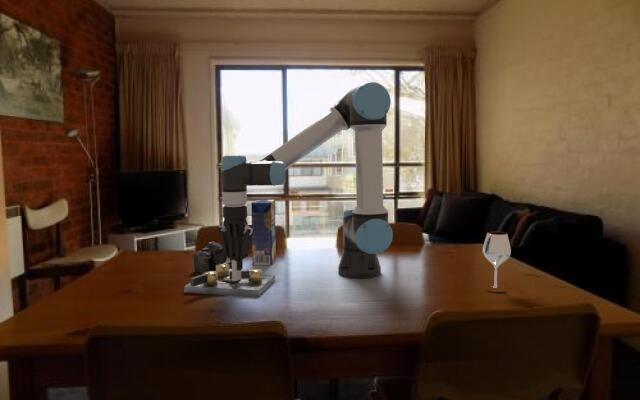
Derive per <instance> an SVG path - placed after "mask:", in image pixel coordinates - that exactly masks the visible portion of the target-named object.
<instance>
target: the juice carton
mask: <svg viewBox="0 0 640 400" xmlns="http://www.w3.org/2000/svg"><path fill="white" fill-rule="evenodd" d="M250 205H251V228H254V232H253V234H252V237H251V249H252V250H251V251H252V256H251V257H252V266H272V265H273V263H274V262H275V260H276V258H277V256H276V255H277V254H276V253H277V251H276V246H277V245H276V243H277V242H276V240H277V239H276V199H256V200H254V201H252V202H251V204H250Z"/></svg>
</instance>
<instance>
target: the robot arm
mask: <svg viewBox="0 0 640 400" xmlns="http://www.w3.org/2000/svg"><path fill="white" fill-rule="evenodd" d="M391 103H392V101H391V95H390V93H389V91H388V90H387V88H386V87H385V86H384V85H382V84H380V83H378V82H377V81H376V82H375V81H368V82H367V81H366V82H362V83H360V84H359V85H357V86H356V87H353V88H352V89H350V90H349V91H348V92H347V93H346V94H345V95H344V96H342V98H341V99H340V100H338V101H337V102H336V103H335V104H333V105H332V106H331V107H330V108H329V111H328V112H327V113H326V114H325V115H323V116H321V117H320V118H319V119H317V120H315V122H313V123H311V124H310V125H309V126H307V127H306V128H304V129H303V130H302V131H300V132H299V133H297V134H296V135H294V136H293V137H292V138H291V139H289V140H287V141H286V142H285V143H283V144H282V145H279V147H278V148H276V149H275V150H273V151H272V152H270V153H269V154H268V155H266V156H265V157H263V158H261V159H260V160H257V161H248V160H247V157H246V155H242V154H241V155H240V154H239V155H232V154H230V155H227V154H226V155H224V156H222V158H221V173H220V174H221V195H222V196H221V200H222V201H221V203H222V205H223V206H222V218H223V223H222V224H221V225H220V226H217V229H216V230H217V232H218V233H219V237H220V241H221V245H222V246H223V251H224V256H225V257H227V259H228V260H230V268H231V269H230V270H231V271H232V281H238V280H240V279H241V270H244V269H243V266H244V265H243V262H244V261H243V260H244V259H246V258H249V253H250V246H251V243H252V234H253V232H254V228H252V227H250V226H249V224H248V220H247V217H248V206H247V203H248V196H247V195H248V194H247V193H248V192H247V191H248V189H247V186H249V187H250V186H251V187H252V186H259V187H260V186H261V187H262V186H274V187H275V186H283V185H284V184H285V183H286V170H288V169H289V168H291V167H292V166H293V165H295V164H296V163H297V162H299V161H300V160H302V159H304V157H306V156H308V155H309V154H311V153H312V152H313V151H314V150H316V149H317V148H319V147H320V146H322V145H324V143H326V142H328V141H329V140H331V139H332V138H333V137H335V136H336V135H338V134H339V133H340V132H342V131H349V129H351V130H353V132H354V139H355V140H354V141H355V144H354V146H355V150H354V151H355V153H354V154H355V185H356V187H355V188H356V189H355V190H356V195H355V196H356V207H354V208H353V209H346V210H344V211H343V216H342V221H343V222H342V223H343V224H342V225H343V226H342V230H343V231H342V235H343V236H342V238H343V239H342V241H343V244H342V248H343V250H342V254H341V258H340V260H339V264H338V268H337V269H338V271H337V272H338V274H339V275H341V276H343V277H347V278H352V279H369V278H375V277H378V276H379V275H381V273H382V271H381V267H382V266H381V263H380V260H379V258H378V254H380V253H381V254H382V253H383V252H385V251H386V250H387V249H388V248H389V247H390V246H391V243H392V242H393V237H394V236H393V235H394V233H393V232H394V231H393V229H392V227H391V225H390V224H389V210H388V209H387V208H386V207H385V205H384V176H383V175H384V173H383V172H384V170H383V168H384V167H383V164H384V163H383V131H384V129H385V128H386V127H387V125H388V124H387V114H388V113H389V111H390V108H391V105H392V104H391Z"/></svg>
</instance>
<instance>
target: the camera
mask: <svg viewBox="0 0 640 400" xmlns="http://www.w3.org/2000/svg"><path fill="white" fill-rule="evenodd" d="M192 259H193V268H194V271H195V272H197V273H200V274H203V273H204V272H208V271H215V270H216V265H219V264H223V263H225V262H227V261H228V260H227V259H228V257H225V256H224V251H223V246H222V243H221V244H220V243H219V242H215V241H211V242H208V244H207V245H205V246H204V248H202V249H201V250H198V251H196V252H194V254H193V256H192Z"/></svg>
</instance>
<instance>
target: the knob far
mask: <svg viewBox="0 0 640 400" xmlns="http://www.w3.org/2000/svg"><path fill="white" fill-rule="evenodd" d="M230 270H232V269H231V268H230V259H228V260H226V262H225V263H223V264H219V265H216V269H215V271H216V272H218V276H219V277H224V276H228V275H229V273H230Z"/></svg>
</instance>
